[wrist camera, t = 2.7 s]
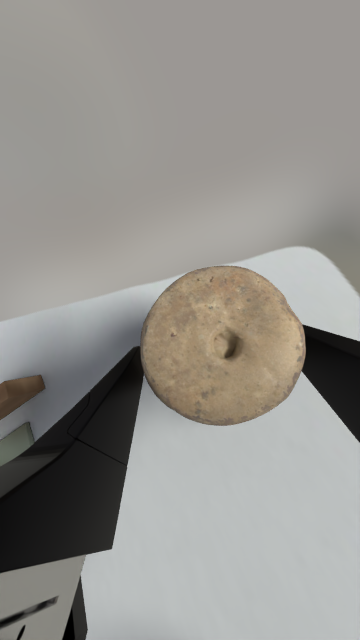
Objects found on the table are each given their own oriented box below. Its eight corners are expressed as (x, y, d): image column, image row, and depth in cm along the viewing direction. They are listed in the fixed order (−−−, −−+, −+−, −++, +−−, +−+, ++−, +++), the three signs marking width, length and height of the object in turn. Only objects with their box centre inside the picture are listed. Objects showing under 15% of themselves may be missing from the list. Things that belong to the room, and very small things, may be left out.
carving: (239, 329, 16) (355, 275, 4) (215, 388, 15) (279, 538, 3) (192, 309, 17) (180, 226, 5) (166, 362, 16) (85, 399, 4)
